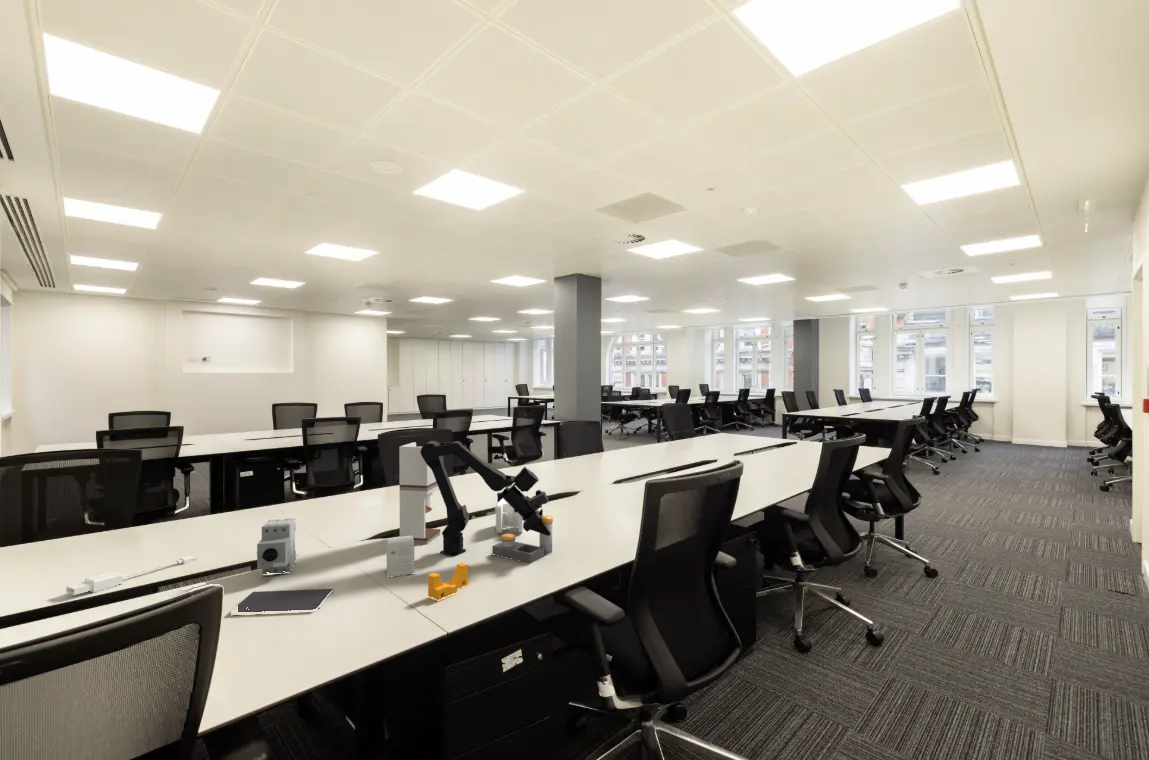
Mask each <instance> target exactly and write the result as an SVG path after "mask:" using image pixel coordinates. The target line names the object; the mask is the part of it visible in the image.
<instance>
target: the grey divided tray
mask: <svg viewBox="0 0 1149 760" xmlns="http://www.w3.org/2000/svg"><path fill="white" fill-rule="evenodd" d="M516 539H517V538H516V534H513V533H504V534H501V541H500V542H498V543H496V544H494V545H491V546H492V547H491V549H492V550H491V552H492V553H491V554H495V555H494V556H496V555H499V556H498V557H500V556H503V557H502V558H505V557H507V558H506V559H509V558H512V559H511V560H513V559H516V560H515V561H518V560H520V561H519V562H522V561H524V562H523V563H527V562H528V563H527V564H533V563H535V562H536V561H538V560H540V559H542V558H544V557H545V554H544V547H540V545H539V546H538V545H533V544H530V543H529V544H528V543H523V542H519V541H516ZM534 561H535V562H534Z"/></svg>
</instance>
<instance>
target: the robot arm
mask: <svg viewBox="0 0 1149 760" xmlns="http://www.w3.org/2000/svg"><path fill="white" fill-rule="evenodd" d="M422 446H423V447H422V448H421V456H422V457H423V459H424V461H425V462H426V464H427V465H428V466H429V467H430V468H431V470H432V472H433V474H434V477H435V480H436V482H437V485H438V487H439V489H438V490H439V492H440V495H441V497H442V500H443V502H444V504H445V508H446V518H447V520H446V521H447V525H446V526H445V527H444V529H443V530H442V532H441V535H442V537H443V538H442V540H443V541H442V546H443V547H442V548H443V550H440V551H439V554H441V555H442V554H443V555H446V556H451V557H455V556H457V555H460V554H462V553H465V552H466V551H467V549H466V548H464V536H463V534H464V533H463V532H464V530H465V528H466V527H467V526H468V524H469V521H470V518H469V517H470V513H469V512H468V510H467V506H466V504H464V505H461V504H460V502H459V501H458V497H457V495H456V492H455V491H454V487H453V484H452V482H451V480H450V477H449V475H448V472H447V470H446V467H445V464H444V456H449V455H454V456H456V458H458V459H459V460H461V461H462V462H463V463H464V464H466V465H467V466H468V467H470V468H471V469H472V470H473V471H474V472H475V473H477V474H478V475H479V476H480V477H481V478H482V480H483V481H484V483H485V484H486V485H487V486H488V487H489V489H491V491H493V492H497V493H496V496H497V498H496V499H497V501H496V502H499V501H500V500H501V499H502V498H503V499H504V500H505V503H508V504H509V505H510V506H511V507H512V508H513V509H514V512H515V513H516V512H517V513H518V514H519V515H520V516H521V517H522V520H523V521H524V523H523V530H525V532H527V533H528V532H529V531H534V532H535V533H539V534H540V533H541V534H544V535H547V536H549V535H550V534H551V533H550V532H549V530H548V529H547V527H546V526H545V525H544V523H543V522H542V516H543V512H544V509H543V508H542V507H543V505H546V504H547V503H549V497H548V495H547V493H546V491H542V490H541V489H538V490H536V491H535V494H534V495H533V496H531V497H529V495H526V496H525V494H523V492H526V493H527V492H529V491H530V490H531V488H533V487H534V486H535V485H536V484H537V483H538V482H539V481H540V479H539V478H538V476H537V475H536V474H535V473H534V472H533V471H531V470H530V469H528V468H527V467H526V466H524V467H523V468H522V469H521V470H520V471H519V473H517V475H508V474H505V473H504V472H503V471H501V470H500V469H497V468H495V467H492V466H490V465H489V464H487V463H486V462H485V461H483V459H481V458H480V457H478V456H477V455H476V454H475V453H473V452H472V450H470V449H468V448H467V447H466V446H464V444H463V442H460V441H459V440H458V441H453V442H451V441H450V442H449V441H448V442H447V441H445V442H438V441H436V440H430V441H429V442H427V443H425V444H423V445H422ZM539 509H540V510H539Z"/></svg>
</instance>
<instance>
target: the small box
mask: <svg viewBox="0 0 1149 760" xmlns="http://www.w3.org/2000/svg"><path fill="white" fill-rule="evenodd" d="M415 572H416V571H415V543H414V540H413V536H404V537H400V536H398V537H397V536H396V537H389V538H386V575H387V578H388V577H389V578H392V577H391V576H396V577H399V576H398V575H403V576H407V575H406V574H411V575H413V574H412V573H414V574H415Z"/></svg>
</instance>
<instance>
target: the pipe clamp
mask: <svg viewBox="0 0 1149 760" xmlns="http://www.w3.org/2000/svg"><path fill="white" fill-rule="evenodd" d="M468 573H469V564H468V563H465V562H459V563H456V569H455V572H454V574H453V575H452V577H451V578H450V579H449V580H448V581H446V582H442V580H441V574H438V573H436V572H432V573H429V574H427V581H428V582H427V585H428V586H427V589H428V590H427V594H428V595H427V597H428V596H430V597H433V598H435V599H437V600H439V599H441V598H443V597H446V596H448V595H451V594H453V593H456V592H457V593H458V590H457V589H458V588H461V587H463V586H466V585H468V586H469V578H468V577H469V574H468ZM466 587H467V586H466ZM461 589H462V588H461Z"/></svg>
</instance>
